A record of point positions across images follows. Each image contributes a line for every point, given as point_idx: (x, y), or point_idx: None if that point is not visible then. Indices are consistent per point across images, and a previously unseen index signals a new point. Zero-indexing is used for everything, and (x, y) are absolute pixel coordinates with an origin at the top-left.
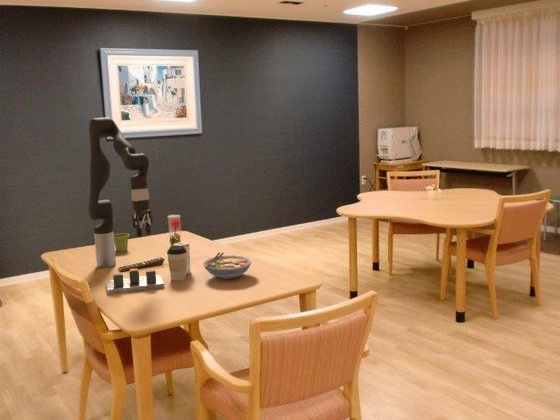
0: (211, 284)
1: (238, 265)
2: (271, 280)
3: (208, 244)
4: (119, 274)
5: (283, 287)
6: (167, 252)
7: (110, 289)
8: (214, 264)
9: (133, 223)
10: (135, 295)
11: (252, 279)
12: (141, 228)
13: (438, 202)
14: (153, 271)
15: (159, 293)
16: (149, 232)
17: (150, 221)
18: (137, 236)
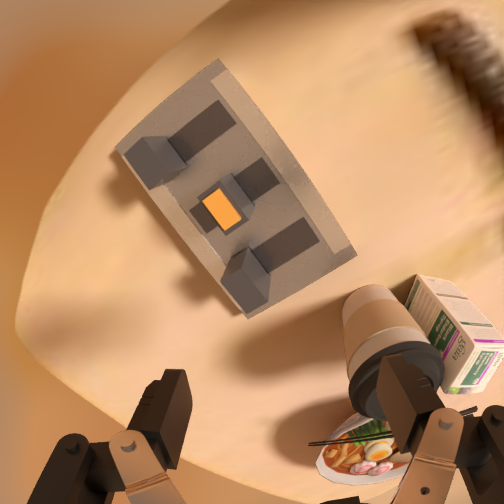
0: (312, 411)
1: (371, 466)
2: None
3: None
4: (146, 172)
5: (307, 492)
6: (378, 357)
7: (124, 153)
8: None
9: (47, 476)
10: (148, 250)
11: None
12: (170, 467)
13: None
14: (240, 306)
15: (193, 317)
16: (380, 392)
17: (466, 464)
18: (166, 370)
